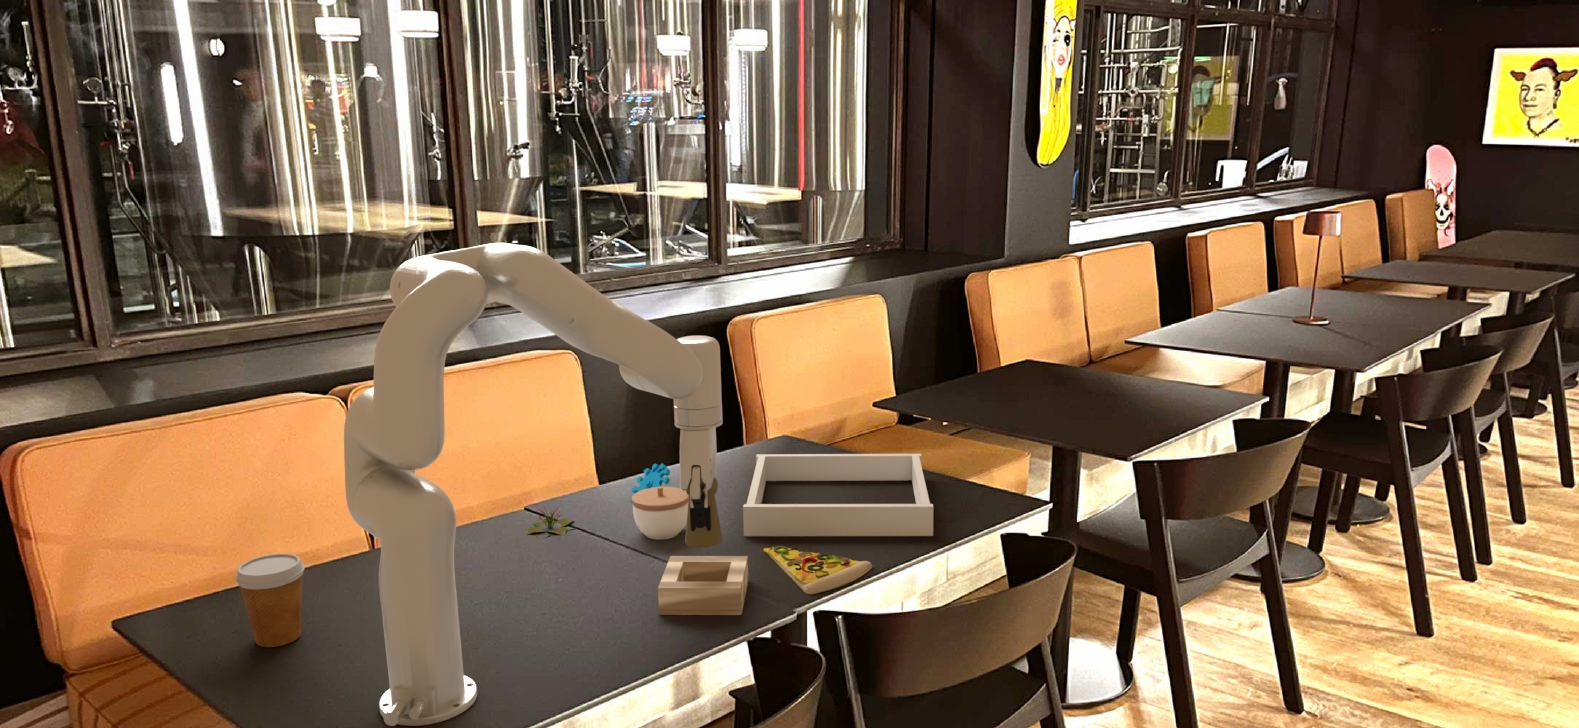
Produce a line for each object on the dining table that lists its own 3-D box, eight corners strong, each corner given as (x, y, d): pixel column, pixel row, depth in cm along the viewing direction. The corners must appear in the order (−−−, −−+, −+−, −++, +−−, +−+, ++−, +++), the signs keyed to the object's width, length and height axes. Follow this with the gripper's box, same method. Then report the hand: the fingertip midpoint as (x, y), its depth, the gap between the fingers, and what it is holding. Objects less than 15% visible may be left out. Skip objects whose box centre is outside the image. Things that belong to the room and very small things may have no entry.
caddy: (741, 615, 173) (740, 588, 172) (659, 614, 174) (657, 588, 173) (748, 581, 186) (747, 556, 185) (671, 581, 187) (670, 556, 186)
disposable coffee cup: (293, 618, 175) (284, 547, 172) (324, 635, 169) (315, 561, 167) (232, 640, 168) (222, 566, 165) (262, 658, 162) (252, 582, 159)
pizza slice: (815, 601, 179) (815, 584, 179) (731, 567, 194) (731, 551, 193) (879, 574, 190) (879, 557, 189) (795, 543, 204) (795, 527, 204)
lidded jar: (698, 540, 205) (696, 492, 203) (641, 549, 201) (639, 500, 199) (681, 521, 215) (679, 475, 213) (627, 529, 211) (625, 482, 209)
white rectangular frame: (933, 537, 204) (933, 506, 203) (743, 537, 206) (743, 506, 204) (920, 480, 236) (920, 453, 235) (757, 481, 238) (756, 454, 237)
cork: (680, 546, 176) (677, 480, 173) (690, 532, 181) (688, 468, 179) (716, 548, 174) (714, 482, 172) (726, 534, 180) (724, 470, 178)
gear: (621, 497, 226) (649, 456, 229) (640, 511, 230) (668, 471, 232) (647, 511, 218) (676, 469, 220) (667, 525, 221) (695, 484, 223)
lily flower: (536, 547, 204) (534, 524, 203) (507, 530, 213) (505, 508, 212) (593, 531, 211) (592, 509, 210) (563, 516, 220) (561, 494, 219)
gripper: (682, 401, 182) (686, 507, 186) (666, 429, 165) (671, 545, 169) (727, 401, 181) (731, 507, 185) (716, 429, 165) (720, 545, 169)
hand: (702, 524), depth 177 cm, fingers closed on cork, 3 cm apart
